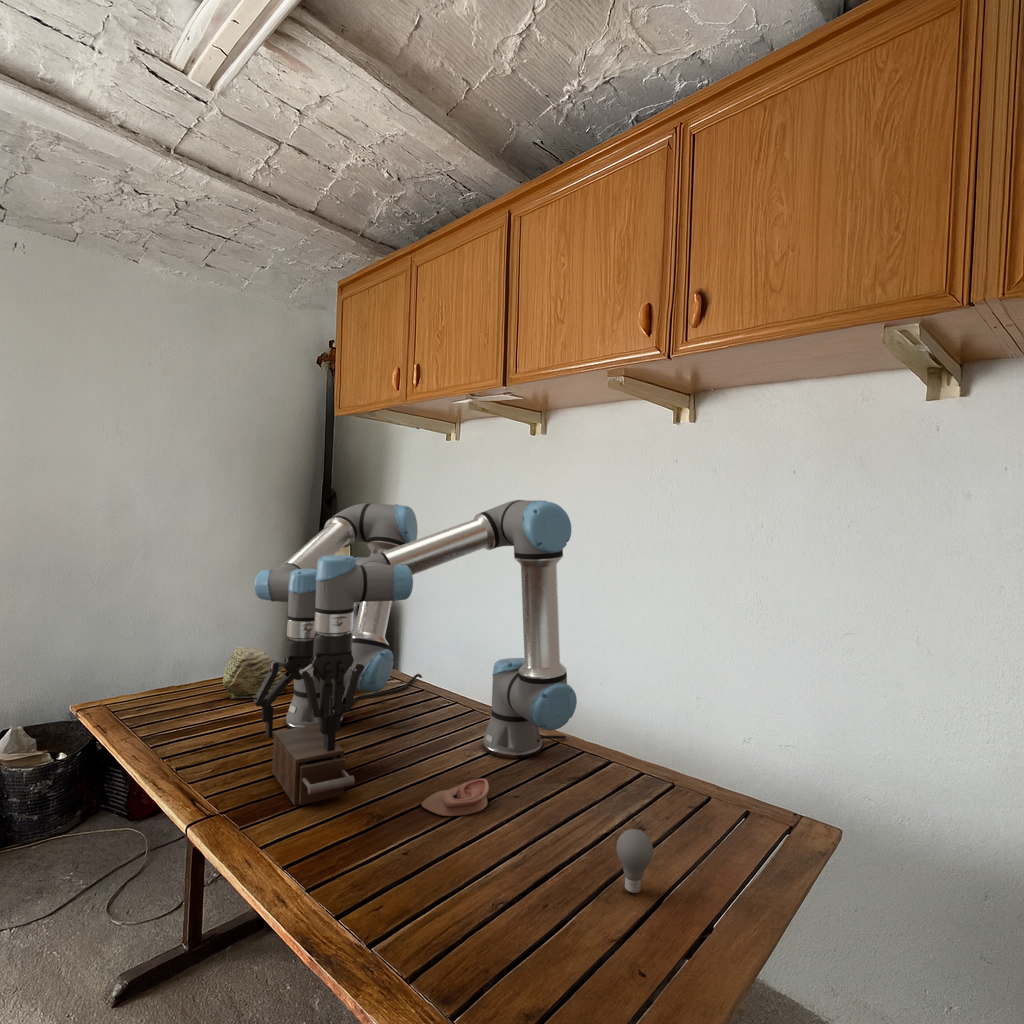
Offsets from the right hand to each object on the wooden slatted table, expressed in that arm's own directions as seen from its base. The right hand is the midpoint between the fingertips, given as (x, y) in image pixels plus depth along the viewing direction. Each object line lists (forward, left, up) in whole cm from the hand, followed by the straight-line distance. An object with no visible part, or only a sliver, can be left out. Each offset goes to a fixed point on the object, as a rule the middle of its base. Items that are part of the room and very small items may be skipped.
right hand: (329, 748), depth 128 cm
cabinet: (+1, -14, -13) cm, 19 cm away
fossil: (+4, -82, -13) cm, 83 cm away
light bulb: (-39, +48, -13) cm, 63 cm away
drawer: (+1, -8, -12) cm, 14 cm away
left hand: (+2, -19, -3) cm, 20 cm away
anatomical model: (-25, +8, -13) cm, 29 cm away
